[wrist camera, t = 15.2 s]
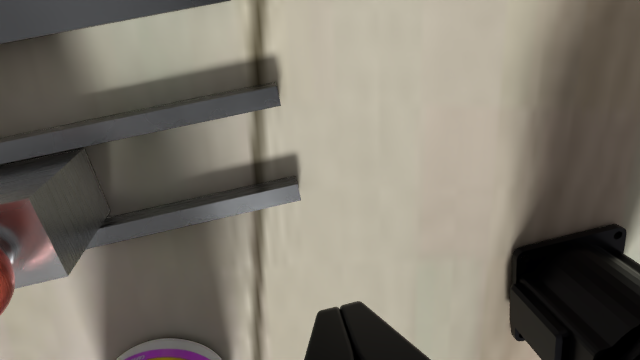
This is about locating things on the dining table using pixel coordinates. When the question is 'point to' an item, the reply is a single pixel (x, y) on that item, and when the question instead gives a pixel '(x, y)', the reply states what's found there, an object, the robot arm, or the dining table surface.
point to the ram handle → (46, 218)
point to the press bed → (77, 14)
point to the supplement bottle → (169, 351)
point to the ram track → (153, 122)
